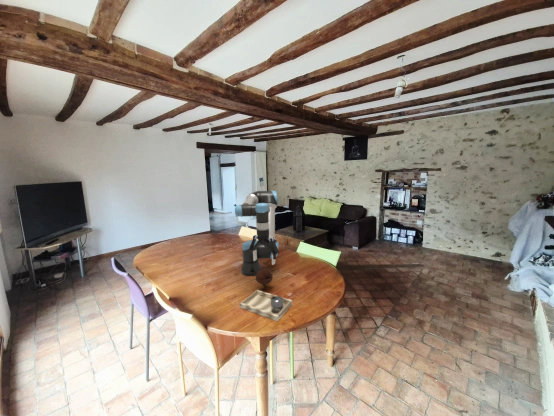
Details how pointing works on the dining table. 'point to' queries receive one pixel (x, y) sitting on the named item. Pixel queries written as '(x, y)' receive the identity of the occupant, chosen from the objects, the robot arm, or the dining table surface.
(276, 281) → the dining table surface
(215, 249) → the dining table surface
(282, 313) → the cream rectangular tray
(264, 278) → the ice cream bowl
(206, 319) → the dining table surface
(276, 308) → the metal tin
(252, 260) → the robot arm
